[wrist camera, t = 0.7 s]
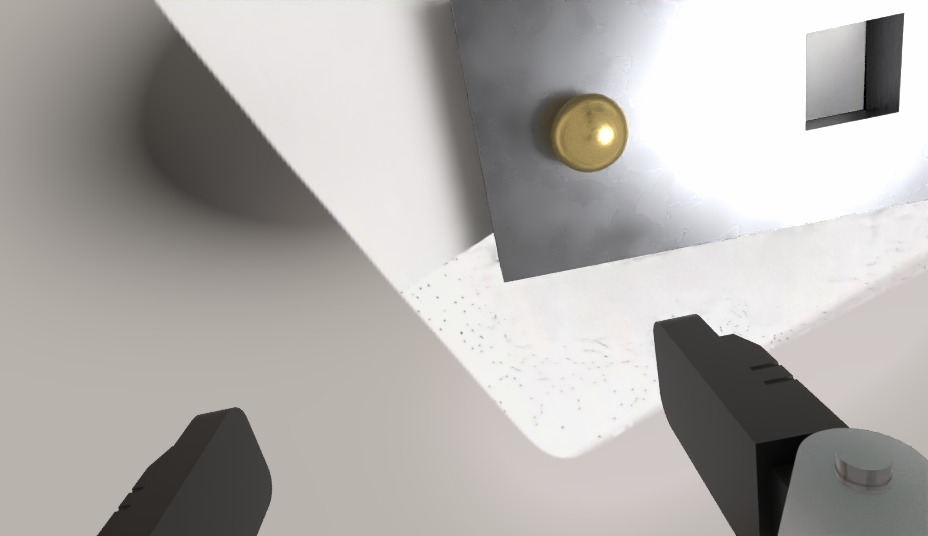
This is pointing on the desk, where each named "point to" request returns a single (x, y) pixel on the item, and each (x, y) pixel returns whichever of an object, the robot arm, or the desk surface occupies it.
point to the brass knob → (589, 132)
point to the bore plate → (685, 121)
